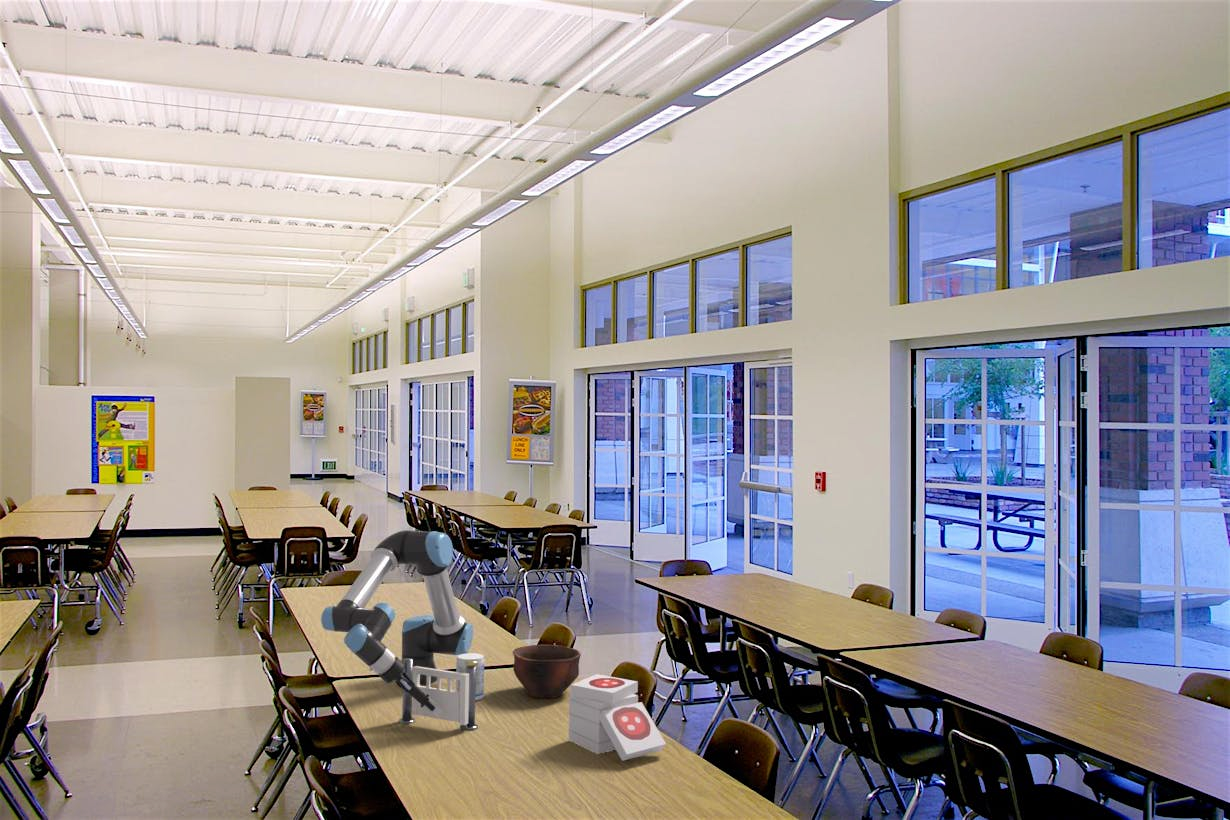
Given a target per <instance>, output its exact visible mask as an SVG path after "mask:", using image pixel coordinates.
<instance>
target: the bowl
mask: <svg viewBox="0 0 1230 820" xmlns="http://www.w3.org/2000/svg"><path fill="white" fill-rule="evenodd" d="M512 655H513V656H514V658H513V659H514V661H513V667H512V669H513V673H514V675H515V677H516V679H518V681H519V682H520V684H521V685H522V687H523V688H524V689H525V691H526V693H527V694H528V696H531V697H534V698H540V699H541V698H542V699H545V698H548V699H552V698H557V697H559V696H562V695H563V694H564V692H565V691H567V689H568V688H569V687H571V685H572V684H574V683H575V682H574V681H576V680H577V678H578V676H579V675H580V668H579V667H580V665H579V664H580V658H581V656H582V655H581V652H580V651H579V650H578V649H576V648H572V647H568V646H563V645H554V644H531V645H525V646H520V647H517V648H514V649H513V651H512Z"/></svg>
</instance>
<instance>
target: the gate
mask: <svg viewBox="0 0 1230 820" xmlns="http://www.w3.org/2000/svg"><path fill="white" fill-rule="evenodd" d="M420 674H422V675H427V679H426V684H425V685H426V686H425V685H420ZM431 676H435V677H437V681H436V687H432V686H431ZM442 679H447V689H443V688H442ZM452 680H455V681H456V680H460V692H457V691H456V690H453V689H452V685H453V684H452V683H453V681H452ZM413 682H414V684H415V685H416V686H417V687H418V688H419V689H420V690H421V691H422V692H424V693H425V695H427V694H428V695H429V697H428V698H429V699H430V700H431V701H433V702H434V703H435V704H436V705H437V706H438V707H439V708H440V709H441V710H442V711H443V712H444V713H443V714H442V715H441V716H440V717H439V718H438V719H439V720H445V721H450V722H455V723H458V724H459V729H460V731H462V732H464V731H467V730H466V729H467V724H468V709H469V674H468V673H459V672H456V671H450V670H445V669H432V668H425V667H420V666H414V667H413ZM412 715H416V716H421V717H422V716H423V717H427V718H433V719H437V718H436V717H435V716H434V715H432V714H431V713H430V712H429V711H428V710H427V709H426V708H425V707H424V706H423V707H421V704H420V703H419V702H418V701H417V700H416V699H415V698H414V697H412ZM438 719H437V720H438Z"/></svg>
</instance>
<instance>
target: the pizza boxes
mask: <svg viewBox="0 0 1230 820" xmlns="http://www.w3.org/2000/svg"><path fill="white" fill-rule="evenodd" d="M638 688H639V681H637V680H630V679H626V678H620V677H614V676H609V675H603V674H599V673H597V674H594V675H591V676H589V677H586V678H584V679H582V680H579V681H577V682H573V683H572V684H571V685H570V692H569V710H568V712H569V713H568V715H569V717H568V741H569V740H571V741H573V742H575V743H577V744H579V745H581V746H583V747H585V748H587V749H589V750H591V751H593V752H595V753H594V754H596V753H597V754H596V755H598V754H600V753H603V754H605V753H604V752H607V751H611V750H615V749H616V750H615V751H616V753H617V754H618V756H619V758H620V760H621V761H626V760H631V759H635V758H638V757H641V756H646V755H648V754H653V753H657V752H661V751H662V750H663V749H664V747H665V746H666V745H667V743H666V741H665V739H664V738H663V736H662V735H661V733H660V731H659V729H658V727H657V726H656V724H655V722H654V720H653V719H652V717H651V716H650V714H649V712H648V711H647V709H646V706H645V705H644V703H643V702H642V701H641V702H639V695H638V694H636V693H638V691H639V689H638ZM579 745H578V746H579ZM581 746H580V747H581ZM583 747H582V748H583ZM585 748H584V749H585ZM587 749H586V750H587ZM589 750H588V751H589ZM591 751H590V752H591ZM593 752H592V753H593ZM611 752H612V751H611ZM607 753H608V752H607ZM600 755H601V754H600Z"/></svg>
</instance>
